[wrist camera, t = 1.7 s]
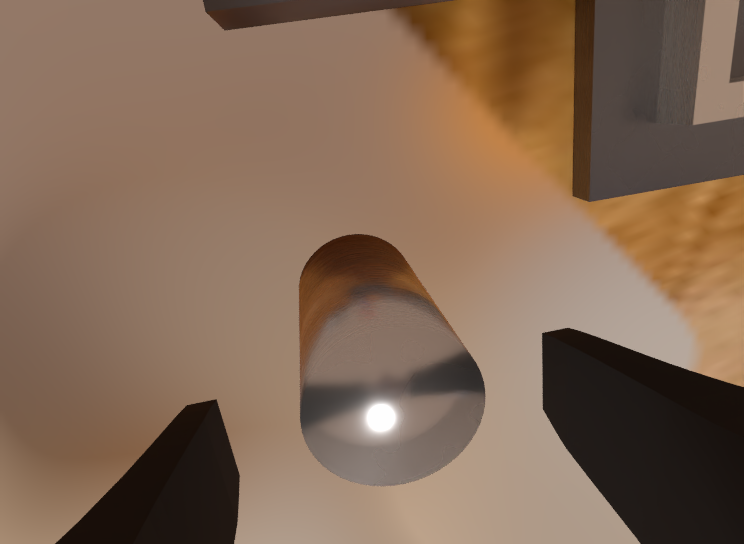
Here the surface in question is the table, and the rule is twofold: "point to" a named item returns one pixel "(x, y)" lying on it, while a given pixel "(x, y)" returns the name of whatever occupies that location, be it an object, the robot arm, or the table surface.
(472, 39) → the table surface
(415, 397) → the cylinder
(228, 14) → the button housing
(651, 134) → the base plate with socket
